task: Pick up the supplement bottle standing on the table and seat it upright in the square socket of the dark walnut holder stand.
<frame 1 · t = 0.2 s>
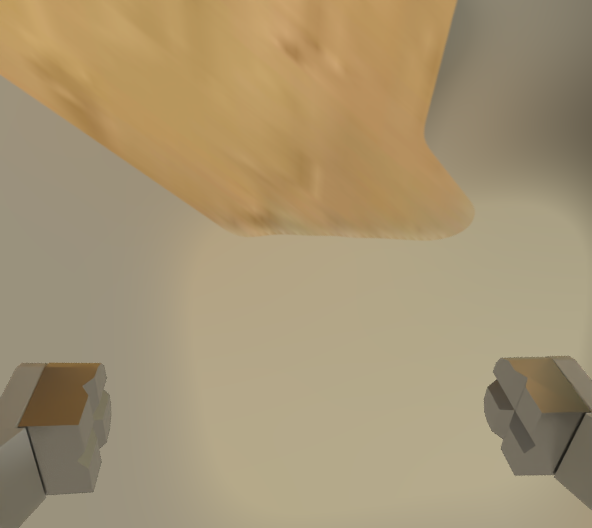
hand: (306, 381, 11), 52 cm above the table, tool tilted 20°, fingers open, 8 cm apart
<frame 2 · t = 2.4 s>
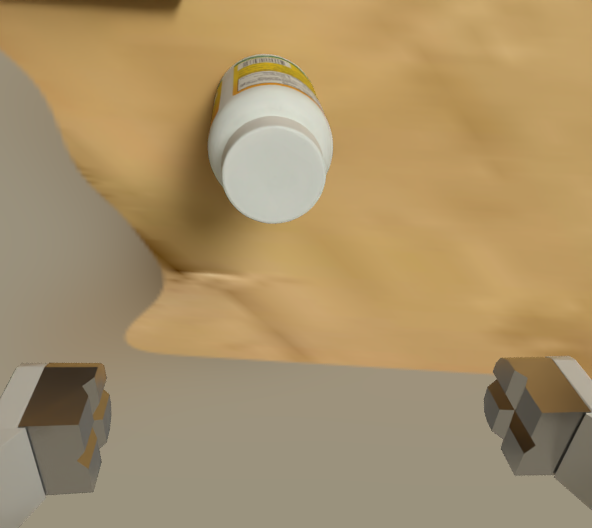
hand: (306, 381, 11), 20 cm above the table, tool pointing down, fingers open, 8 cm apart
supplement bottle: (264, 104, 28), on the table
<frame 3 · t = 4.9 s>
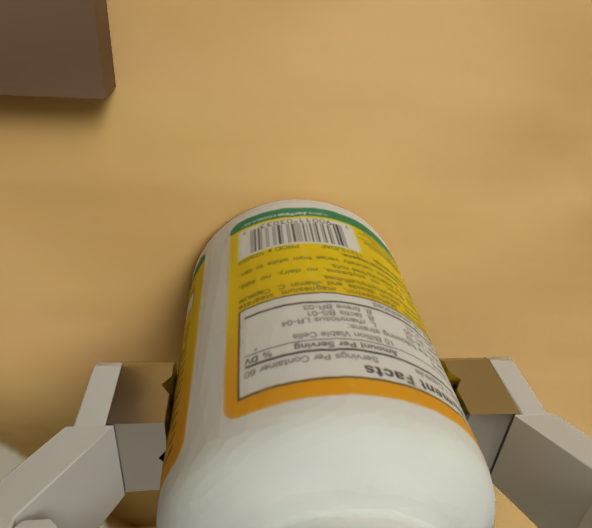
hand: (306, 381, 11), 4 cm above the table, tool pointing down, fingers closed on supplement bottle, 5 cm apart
supplement bottle: (291, 281, 14), on the table, touching gripper
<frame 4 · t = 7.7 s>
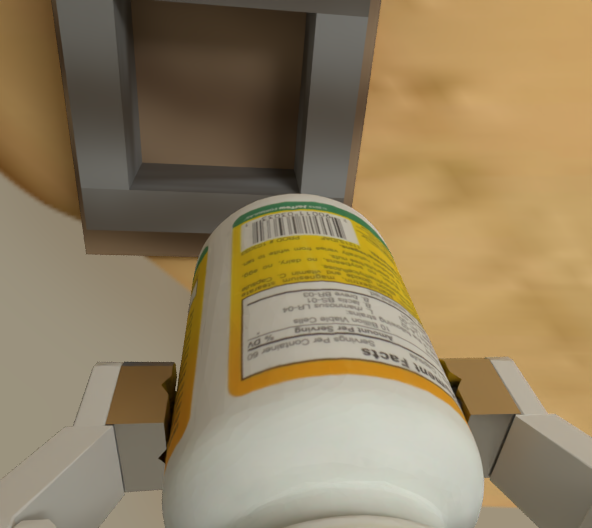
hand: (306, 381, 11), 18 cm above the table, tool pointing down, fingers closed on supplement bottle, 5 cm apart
supplement bottle: (291, 273, 15), point 14 cm above the table, touching gripper
holder stand: (220, 84, 25), on the table
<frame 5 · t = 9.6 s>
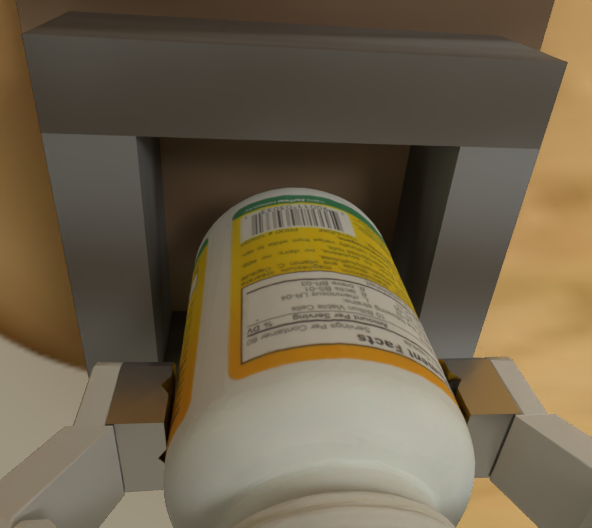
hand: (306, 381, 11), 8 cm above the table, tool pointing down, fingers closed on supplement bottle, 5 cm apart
supplement bottle: (289, 267, 15), point 4 cm above the table, touching gripper
holder stand: (281, 204, 18), on the table
when the fingers open (6 cm above the table, at t = 10.9 s): supplement bottle stays where it is, resting on holder stand.
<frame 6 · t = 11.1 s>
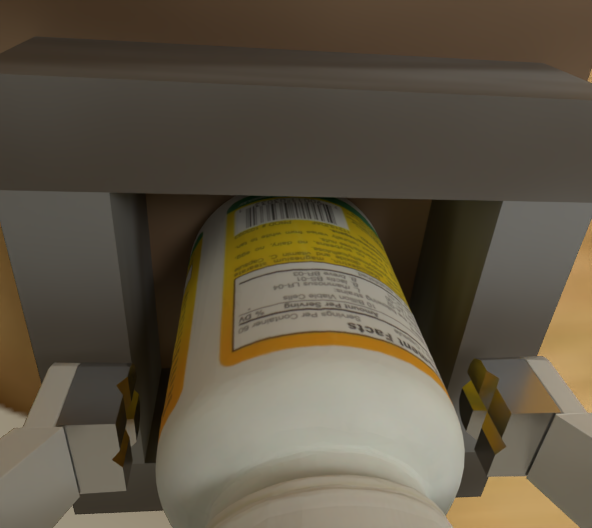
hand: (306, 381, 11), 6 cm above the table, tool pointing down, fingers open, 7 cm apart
supplement bottle: (284, 261, 15), point 1 cm above the table, touching holder stand
holder stand: (285, 249, 16), on the table
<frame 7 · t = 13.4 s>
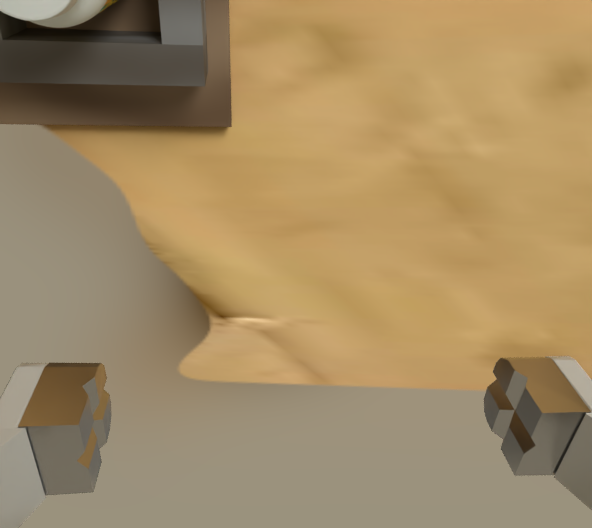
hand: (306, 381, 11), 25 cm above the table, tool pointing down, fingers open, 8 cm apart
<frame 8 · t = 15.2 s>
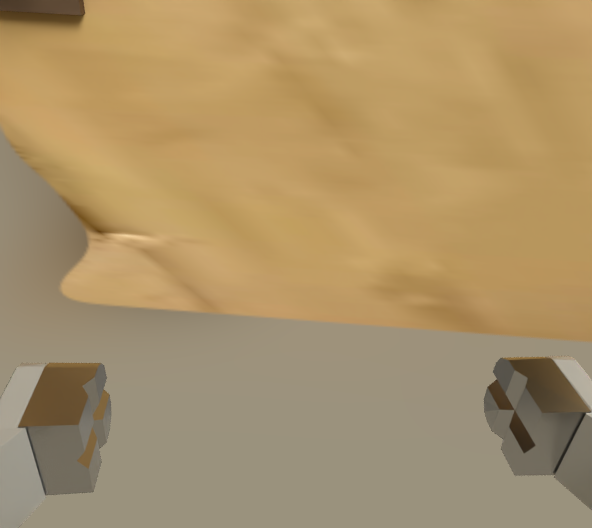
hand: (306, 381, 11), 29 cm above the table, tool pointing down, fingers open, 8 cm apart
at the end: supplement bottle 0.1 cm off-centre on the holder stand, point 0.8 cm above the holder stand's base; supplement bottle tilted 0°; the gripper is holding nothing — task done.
